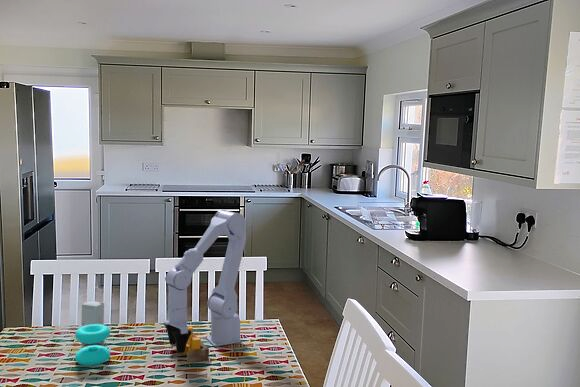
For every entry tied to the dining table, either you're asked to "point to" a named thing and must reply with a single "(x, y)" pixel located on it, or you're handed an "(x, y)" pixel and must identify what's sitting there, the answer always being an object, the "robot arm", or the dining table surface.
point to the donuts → (94, 352)
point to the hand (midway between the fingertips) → (177, 348)
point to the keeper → (198, 354)
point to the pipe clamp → (192, 342)
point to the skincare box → (92, 313)
